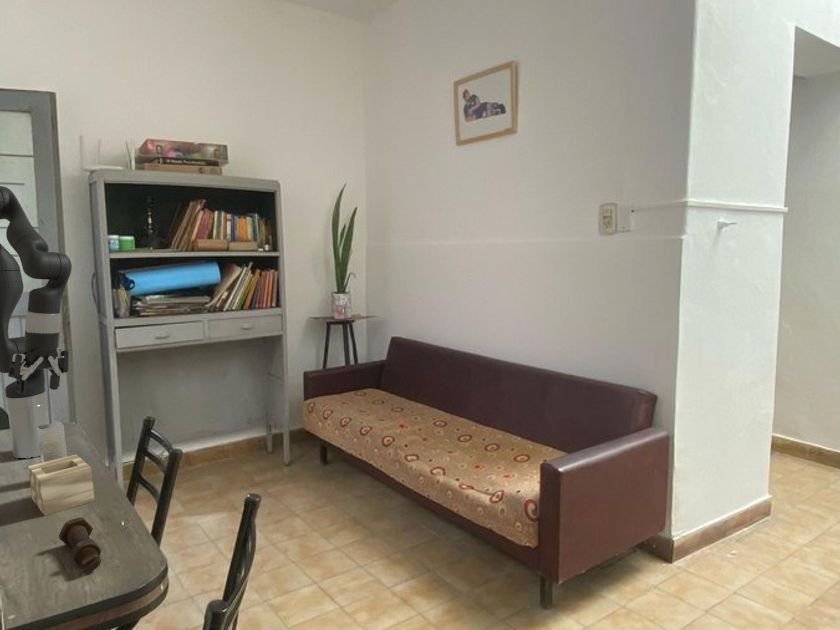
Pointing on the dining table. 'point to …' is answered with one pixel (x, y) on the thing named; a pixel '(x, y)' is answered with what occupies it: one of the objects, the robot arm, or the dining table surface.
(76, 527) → the bolt
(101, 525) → the dining table surface
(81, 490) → the open beige box
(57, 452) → the tall grey square pillar
